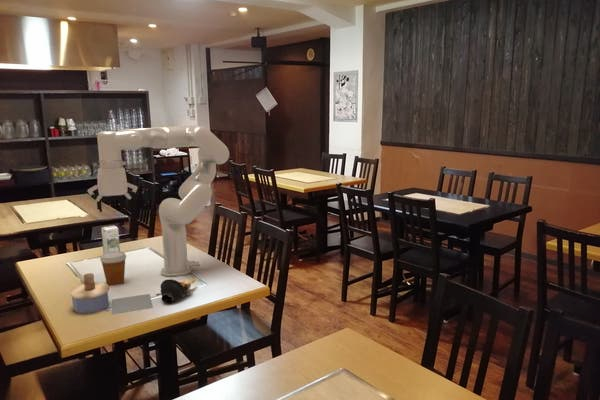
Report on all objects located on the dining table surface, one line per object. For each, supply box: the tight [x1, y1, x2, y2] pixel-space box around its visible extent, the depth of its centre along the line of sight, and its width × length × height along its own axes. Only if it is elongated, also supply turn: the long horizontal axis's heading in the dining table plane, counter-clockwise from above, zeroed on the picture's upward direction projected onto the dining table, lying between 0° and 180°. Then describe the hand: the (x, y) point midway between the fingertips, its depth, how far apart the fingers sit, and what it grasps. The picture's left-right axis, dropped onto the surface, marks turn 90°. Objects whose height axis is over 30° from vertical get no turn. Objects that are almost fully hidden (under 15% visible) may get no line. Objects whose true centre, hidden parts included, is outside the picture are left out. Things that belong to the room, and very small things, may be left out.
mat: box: [111, 293, 154, 315], centre depth 158 cm, size 13×13×1 cm
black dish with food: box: [160, 277, 197, 304], centre depth 165 cm, size 9×11×18 cm
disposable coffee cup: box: [99, 251, 127, 287], centre depth 177 cm, size 10×10×12 cm
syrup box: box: [101, 225, 121, 254], centre depth 209 cm, size 6×6×14 cm
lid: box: [70, 272, 110, 299], centre depth 155 cm, size 12×12×6 cm
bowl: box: [71, 291, 109, 314], centre depth 156 cm, size 11×11×6 cm
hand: (114, 210), depth 170 cm, fingers open, 9 cm apart
